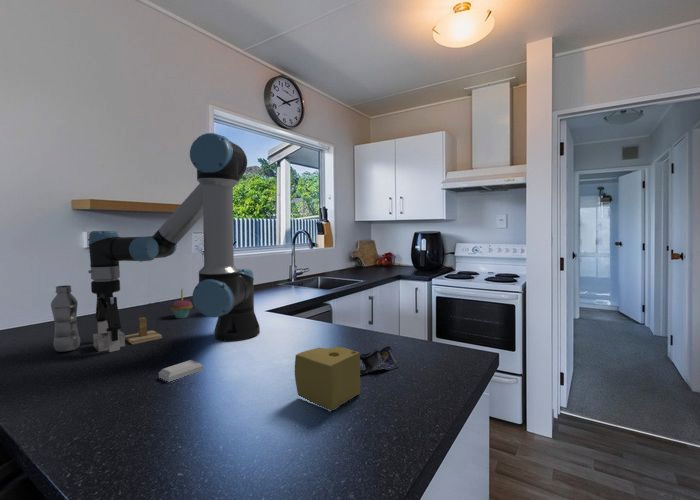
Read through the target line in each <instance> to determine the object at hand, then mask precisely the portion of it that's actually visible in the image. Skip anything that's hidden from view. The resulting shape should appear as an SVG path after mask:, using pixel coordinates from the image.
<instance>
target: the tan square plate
mask: <svg viewBox="0 0 700 500" xmlns="http://www.w3.org/2000/svg"><path fill="white" fill-rule="evenodd" d="M137 322H138V323H137V324H138V325H137V326H138V332H136V333H131V334H128V335H126V334H125V341H127V342H128V343H130V344H131V345H137V344H140V343H146V342H149V341H155V340H160V339H163V335H162V334H161V333H158V332H157V331H155V330H148V324H147V323H148V320H147V317H144V316H143V317H138V318H137Z"/></svg>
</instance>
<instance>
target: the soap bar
mask: <svg viewBox="0 0 700 500" xmlns="http://www.w3.org/2000/svg"><path fill="white" fill-rule="evenodd" d="M201 370H203V371H204V365H203V364H201V363H199V362H197V361H194V360H192V359H190V360H186V361H183V362H180V363H177V364H174V365H171V366H168V367H164V368H162V369H161V370H160V371H158V378H159V379H160V378H161V379H160V380H162V379H163V380H162V381H164V380H165V381H164V382H166V381H168V382H170V381H173V380H176V379H179V378H182V377H184V376H187V375H190V374H193V373H196V372H199V371H201ZM199 373H200V372H199ZM196 374H197V373H196ZM193 375H194V374H193ZM190 376H191V375H190ZM182 379H183V378H182ZM179 380H180V379H179ZM176 381H177V380H176ZM168 382H167V383H168ZM173 382H174V381H173Z"/></svg>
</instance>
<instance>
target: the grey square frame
mask: <svg viewBox="0 0 700 500" xmlns="http://www.w3.org/2000/svg"><path fill="white" fill-rule="evenodd" d="M125 336H126V334H125V333H124V332H123V331H121V330H120V329H119V341H120V348H122V347H126V340H125ZM92 338H93V348H94V349H95V350H97V352H103V351H109V342H108V332H102V333H98V332H97V333H93V334H92Z"/></svg>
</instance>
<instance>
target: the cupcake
mask: <svg viewBox="0 0 700 500" xmlns="http://www.w3.org/2000/svg"><path fill="white" fill-rule="evenodd" d="M180 294H181V295H180V299H181V300H175V301H174V302H173V303H171V305H170V311H172V313H174V317H175V318H176V319H184V318H187V317H188V318H189V315H190V312H191V309H193V307H194V306H193V304H194V303H192V302H191V301H190V300H187V299H185V300H184V290H183V289H181V290H180Z"/></svg>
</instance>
